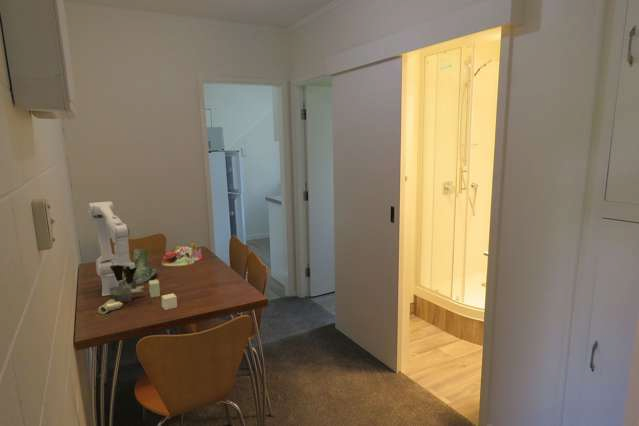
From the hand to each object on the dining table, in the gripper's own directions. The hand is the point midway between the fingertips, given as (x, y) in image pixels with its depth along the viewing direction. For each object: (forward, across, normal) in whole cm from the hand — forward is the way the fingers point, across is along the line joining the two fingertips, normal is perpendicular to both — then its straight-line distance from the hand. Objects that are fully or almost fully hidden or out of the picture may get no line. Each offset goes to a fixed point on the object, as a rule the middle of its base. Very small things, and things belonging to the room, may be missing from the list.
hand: (124, 281), depth 172 cm
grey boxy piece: (+10, -5, +1) cm, 12 cm away
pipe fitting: (+11, +1, -8) cm, 13 cm away
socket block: (+10, +2, +13) cm, 17 cm away
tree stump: (+11, -27, +23) cm, 37 cm away
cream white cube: (+10, +20, +7) cm, 24 cm away
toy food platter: (+11, -36, +60) cm, 71 cm away
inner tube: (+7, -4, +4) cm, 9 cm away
